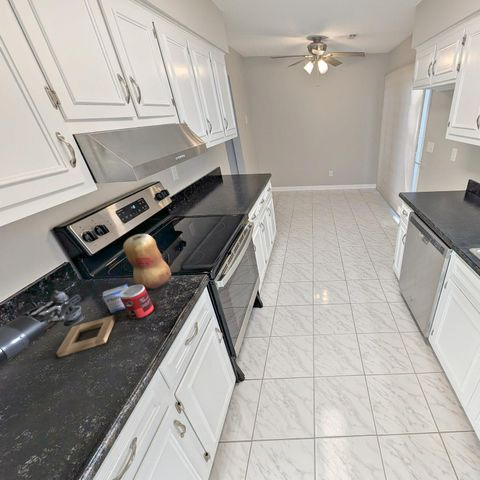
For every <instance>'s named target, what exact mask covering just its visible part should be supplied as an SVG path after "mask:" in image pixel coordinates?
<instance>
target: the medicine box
mask: <svg viewBox="0 0 480 480" xmlns="http://www.w3.org/2000/svg"><path fill="white" fill-rule="evenodd" d="M128 287H129V286H128V284H127V283H126V284H123V285H120V286H116V287H114V288H111V289H107V290H105V291H103V292H102V300H103V301H104V303H105V305H106V306H107V308H108V310H109V312H110V313H111V314H113V313H116V312H118V311H121V310H125V309H126V308H125V307H124V305H123V303H122V301H121V299H120V297H119V294H120V292H121V291H122V290H124V289H126V288H128Z"/></svg>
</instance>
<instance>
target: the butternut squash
mask: <svg viewBox="0 0 480 480" xmlns="http://www.w3.org/2000/svg"><path fill="white" fill-rule="evenodd" d="M122 247H123V248H122V249H123V251H124V254H125V256H126V259H127V260H128V262H129V264H130V265H131V266H132V268H133V274H132V275H133V276H132V278H133V281H134V283H135V285H143V286H144V287H145V289H146V290H155V289H158V288H161V287H162V286H163V285H165V284H166V283H167V282H169V281H170V278H171V277H172V273H171V268H170V266H169V265H168V264H167V262H166V261H165V260H164V258H163V256H162V253H161V252H160V250H159V248H158V246H157V241H156V239H154V238H153V237H152V236H151V235H149V234H147V233H137V234H134V235H132V236H130V237H128V238H127V239H125V242H124V243H123V246H122Z"/></svg>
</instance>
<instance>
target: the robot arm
mask: <svg viewBox="0 0 480 480" xmlns="http://www.w3.org/2000/svg"><path fill="white" fill-rule="evenodd" d="M66 296H67V298H68V300H67V301H66V302H64V303H62V304H60V305H59V306H57V305H56V303H55V301H54V300H53V301H49V302H47V303H46V302H42V303H41V304H39V305H37V306H35V307H32V308H30V309H29V310H27V311H24V312H22V313H20V314H19V316H17V317H15V318H14V319H12V320H11V321H10V322H7V323H6V324H5V325H3V326H1V327H0V366H1V365H2V364H4V363H5V362H6V361H8V360H9V359H11V358H12V357H15V356H16V355H17V354H18V353H20V352H21V351H23V350H24V349H26V348H27V347H28V346H30V344H32V343H34V342H35V341H36V340H38V339H39V338H41V336H43V335H44V334H45V332H46V330H45V328H46V326H48V325H50V324H52V323H53V322H56V321H60V322H61V323H64V322H65V320H67V318H68V317H69V316H70V315H71V314H72V312H73V311H74V310H75V308H74V306H75V305H76V304H77V303H78V302H80V301H81V300H82V297H81V295H80V294H78V293H77V294H74V295H73V296H71V297H69V295H68V294H66ZM55 305H56V306H55ZM63 306H65V307H64V308H63V309H61V308H62V307H63Z"/></svg>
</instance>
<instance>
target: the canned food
mask: <svg viewBox="0 0 480 480" xmlns="http://www.w3.org/2000/svg"><path fill="white" fill-rule="evenodd" d="M119 297H120V299H121V301H122V303H123V305H124V307H125V308H124V309H125V310H126V312H127V314H128V316H129V318H131V320H137V319H141V318H144V317H146V316H148V315H149V314H151V313H152V312H153V310H154V305H153V303H152V300H151V298H150V296H149V294H148V291H147V289H145V287H144V286H143V285H137V284H133V285H130V286H128V288H126V289H124V290H122V291H121V292H120V294H119Z"/></svg>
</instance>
